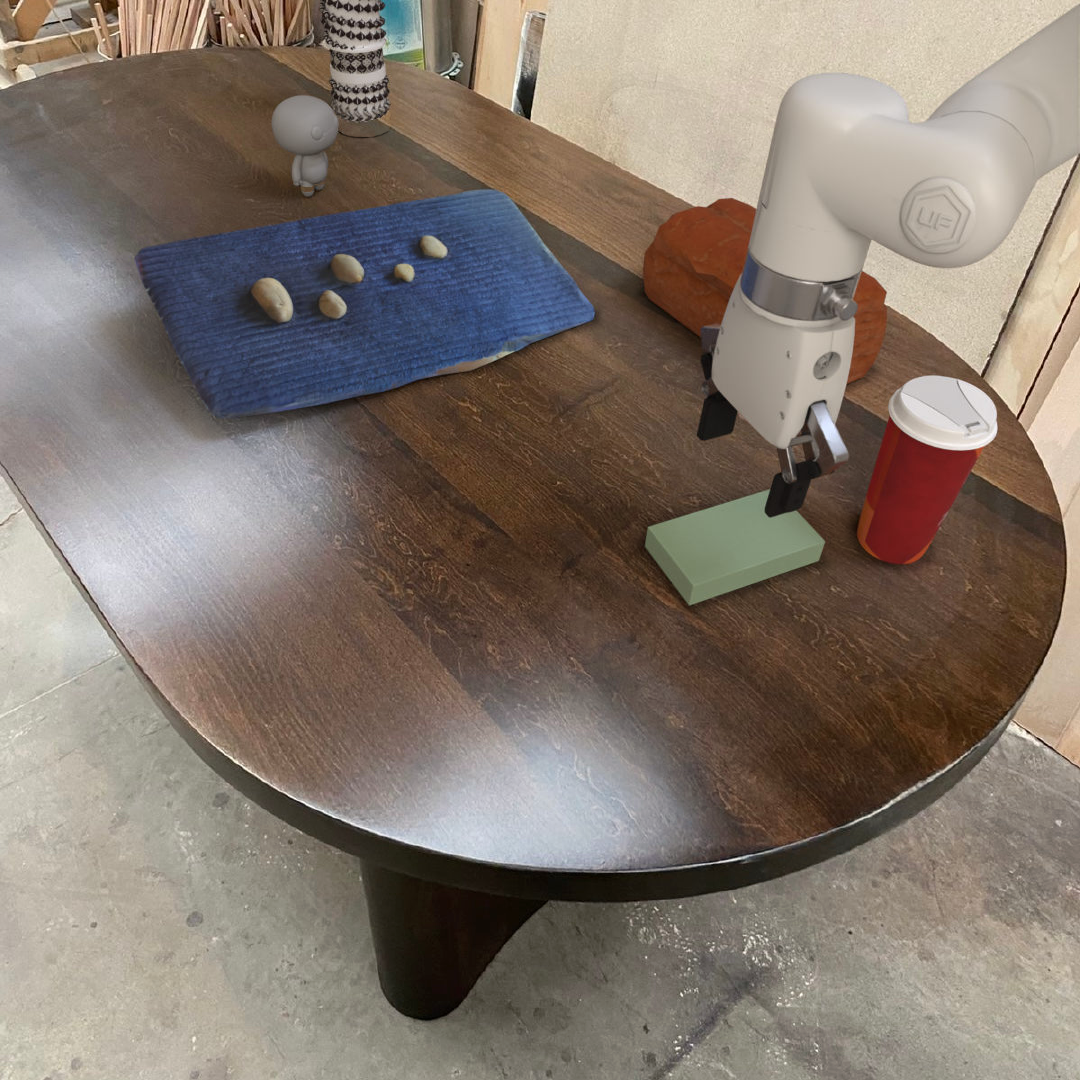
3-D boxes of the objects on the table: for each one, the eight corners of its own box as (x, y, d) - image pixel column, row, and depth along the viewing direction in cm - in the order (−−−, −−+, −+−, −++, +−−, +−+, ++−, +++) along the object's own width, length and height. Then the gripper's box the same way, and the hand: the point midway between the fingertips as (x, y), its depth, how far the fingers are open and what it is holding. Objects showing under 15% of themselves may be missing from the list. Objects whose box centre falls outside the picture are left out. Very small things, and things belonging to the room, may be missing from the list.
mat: (474, 235, 126) (492, 159, 117) (586, 384, 116) (615, 315, 107) (124, 309, 105) (112, 225, 96) (225, 500, 95) (222, 426, 86)
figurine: (320, 211, 124) (308, 117, 116) (272, 198, 126) (256, 104, 118) (355, 187, 129) (345, 95, 121) (308, 175, 132) (296, 84, 123)
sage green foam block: (769, 506, 87) (775, 487, 85) (819, 561, 82) (825, 541, 81) (644, 546, 83) (647, 526, 81) (688, 606, 78) (693, 586, 76)
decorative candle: (330, 139, 140) (306, -57, 123) (333, 114, 147) (312, -76, 129) (393, 139, 141) (379, -56, 124) (394, 114, 148) (381, -74, 130)
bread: (725, 260, 119) (741, 176, 112) (890, 367, 104) (921, 278, 96) (626, 293, 113) (635, 206, 105) (785, 412, 97) (810, 321, 90)
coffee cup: (959, 560, 83) (1027, 422, 72) (880, 584, 81) (939, 444, 70) (899, 498, 88) (955, 361, 78) (824, 519, 86) (871, 380, 75)
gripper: (929, 335, 60) (852, 530, 72) (771, 212, 71) (727, 399, 83) (832, 360, 58) (769, 557, 70) (684, 228, 68) (652, 419, 80)
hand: (747, 471), depth 76 cm, fingers open, 9 cm apart
